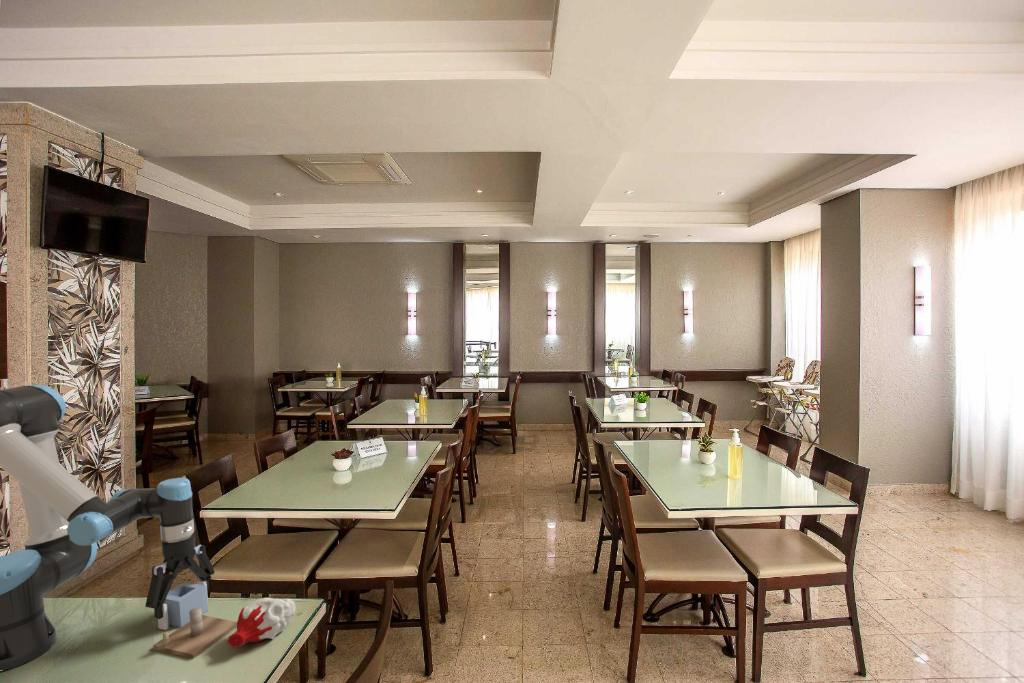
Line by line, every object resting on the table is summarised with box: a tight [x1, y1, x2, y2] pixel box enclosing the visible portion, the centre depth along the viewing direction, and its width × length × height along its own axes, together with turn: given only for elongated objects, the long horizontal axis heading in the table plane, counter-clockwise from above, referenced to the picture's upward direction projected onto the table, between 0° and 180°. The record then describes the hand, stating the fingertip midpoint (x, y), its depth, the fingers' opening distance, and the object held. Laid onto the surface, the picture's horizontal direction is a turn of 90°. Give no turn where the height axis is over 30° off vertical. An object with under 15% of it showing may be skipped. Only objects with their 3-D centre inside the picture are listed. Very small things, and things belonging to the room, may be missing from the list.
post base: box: [152, 607, 237, 659], centre depth 128 cm, size 13×13×7 cm
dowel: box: [162, 631, 170, 647], centre depth 124 cm, size 1×1×3 cm
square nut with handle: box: [164, 581, 209, 628], centre depth 138 cm, size 12×8×7 cm
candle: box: [226, 597, 297, 648], centre depth 127 cm, size 9×11×15 cm
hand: (184, 615), depth 138 cm, fingers open, 11 cm apart
